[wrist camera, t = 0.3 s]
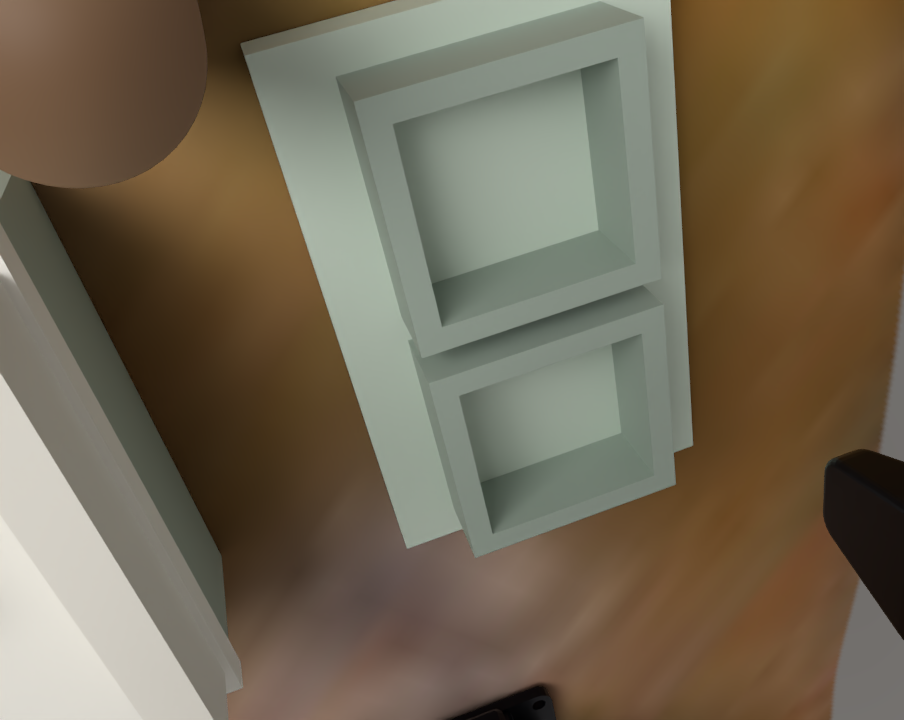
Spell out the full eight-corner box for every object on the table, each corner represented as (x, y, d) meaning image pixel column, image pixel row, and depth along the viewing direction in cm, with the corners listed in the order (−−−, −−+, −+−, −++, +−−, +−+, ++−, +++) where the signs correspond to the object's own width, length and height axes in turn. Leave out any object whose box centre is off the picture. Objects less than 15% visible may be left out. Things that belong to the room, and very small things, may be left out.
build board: (673, 422, 27) (729, 487, 24) (397, 521, 25) (424, 600, 23) (640, -68, 19) (718, -52, 16) (239, 43, 18) (253, 79, 15)
